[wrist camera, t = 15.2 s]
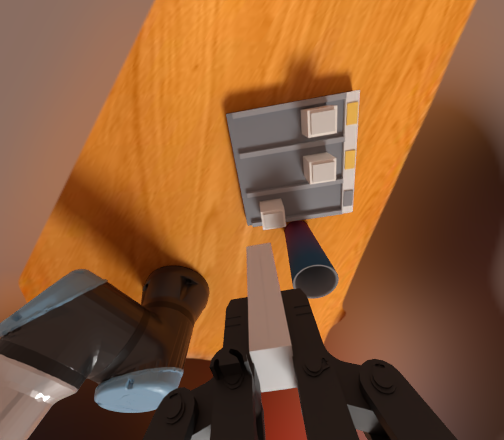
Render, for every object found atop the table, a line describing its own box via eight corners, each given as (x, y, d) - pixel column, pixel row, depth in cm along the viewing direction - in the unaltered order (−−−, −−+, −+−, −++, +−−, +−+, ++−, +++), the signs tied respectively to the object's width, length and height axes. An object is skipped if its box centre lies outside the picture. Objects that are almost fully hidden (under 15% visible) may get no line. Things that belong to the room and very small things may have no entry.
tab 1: (262, 218, 42) (263, 231, 38) (259, 201, 40) (260, 213, 36) (282, 215, 42) (286, 227, 37) (280, 198, 40) (284, 209, 36)
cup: (288, 212, 44) (305, 259, 31) (318, 222, 45) (347, 271, 32) (275, 239, 47) (285, 292, 34) (304, 247, 48) (324, 302, 35)
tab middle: (303, 176, 38) (310, 185, 34) (302, 156, 37) (309, 163, 32) (326, 172, 38) (336, 181, 34) (326, 152, 36) (337, 158, 32)
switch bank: (247, 220, 45) (247, 227, 42) (227, 113, 35) (225, 114, 33) (347, 206, 43) (353, 212, 41) (352, 90, 34) (360, 89, 32)
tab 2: (301, 134, 35) (308, 138, 31) (300, 109, 33) (307, 110, 29) (326, 129, 35) (337, 133, 30) (326, 105, 33) (338, 105, 29)
